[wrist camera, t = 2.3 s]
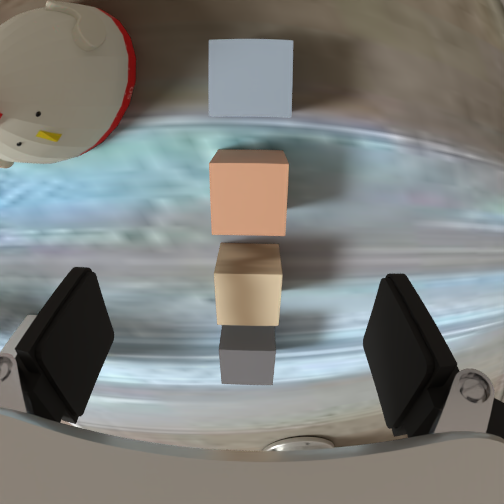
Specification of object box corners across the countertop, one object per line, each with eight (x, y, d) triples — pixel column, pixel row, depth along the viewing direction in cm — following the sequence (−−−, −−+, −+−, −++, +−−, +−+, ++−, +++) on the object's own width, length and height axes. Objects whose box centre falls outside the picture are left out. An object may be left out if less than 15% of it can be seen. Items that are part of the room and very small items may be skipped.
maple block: (278, 243, 28) (282, 274, 23) (275, 290, 30) (278, 325, 26) (220, 242, 28) (214, 273, 23) (222, 289, 30) (217, 324, 26)
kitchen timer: (66, 186, 25) (-46, 271, 12) (-7, 95, 20) (-124, 130, 7) (170, 74, 21) (60, 63, 8) (78, -19, 16) (-41, -58, 3)
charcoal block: (273, 315, 32) (275, 351, 27) (271, 349, 34) (272, 385, 30) (223, 313, 32) (218, 349, 27) (225, 348, 34) (221, 383, 30)
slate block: (286, 50, 20) (293, 40, 16) (284, 112, 22) (291, 117, 18) (218, 50, 20) (208, 39, 16) (218, 112, 23) (208, 116, 18)
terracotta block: (283, 150, 24) (288, 164, 20) (280, 209, 26) (285, 235, 22) (218, 149, 24) (209, 163, 20) (219, 208, 26) (212, 234, 22)
